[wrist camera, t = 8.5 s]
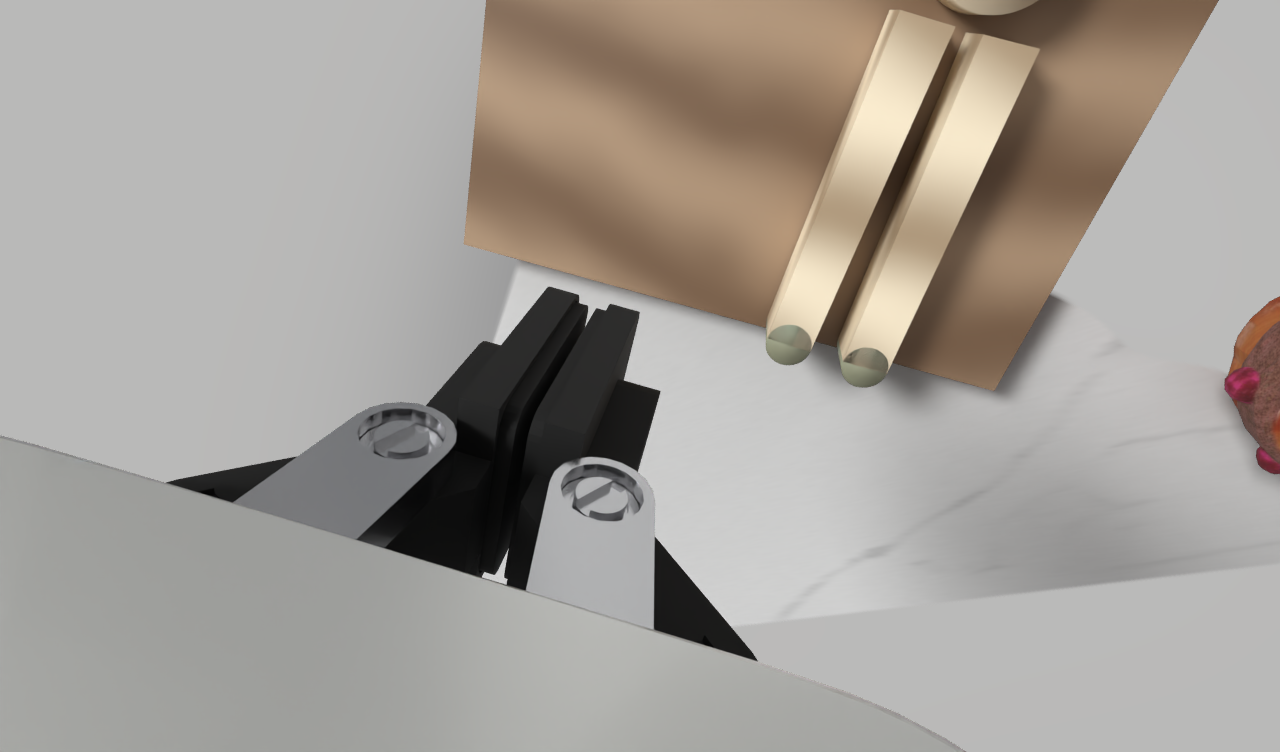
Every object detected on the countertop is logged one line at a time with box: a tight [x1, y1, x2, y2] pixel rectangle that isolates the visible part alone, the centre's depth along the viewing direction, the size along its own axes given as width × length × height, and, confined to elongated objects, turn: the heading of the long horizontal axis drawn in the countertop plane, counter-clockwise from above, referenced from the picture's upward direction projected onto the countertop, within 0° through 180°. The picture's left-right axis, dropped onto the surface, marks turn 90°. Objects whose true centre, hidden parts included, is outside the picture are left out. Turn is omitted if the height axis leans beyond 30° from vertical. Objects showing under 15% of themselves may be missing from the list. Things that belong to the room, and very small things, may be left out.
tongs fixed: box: [837, 32, 1040, 387], centre depth 24 cm, size 16×3×3 cm, turn 167°
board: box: [464, 0, 1219, 391], centre depth 26 cm, size 17×24×2 cm
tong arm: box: [766, 0, 1038, 365], centre depth 24 cm, size 17×4×2 cm, turn 165°
